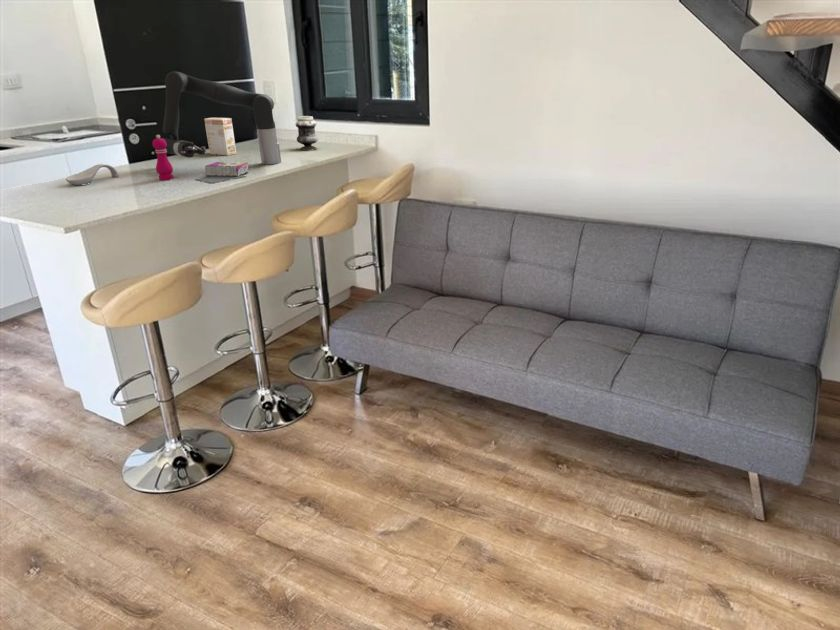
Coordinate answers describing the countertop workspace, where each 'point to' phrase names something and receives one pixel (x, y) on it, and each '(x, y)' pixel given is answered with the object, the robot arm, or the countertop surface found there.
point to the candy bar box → (227, 169)
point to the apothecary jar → (306, 132)
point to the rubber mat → (218, 178)
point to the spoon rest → (89, 175)
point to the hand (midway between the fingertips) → (203, 152)
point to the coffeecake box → (220, 136)
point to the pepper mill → (162, 159)
